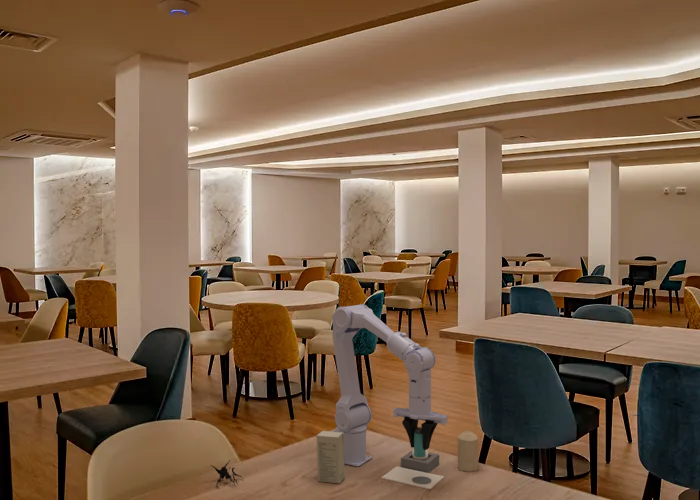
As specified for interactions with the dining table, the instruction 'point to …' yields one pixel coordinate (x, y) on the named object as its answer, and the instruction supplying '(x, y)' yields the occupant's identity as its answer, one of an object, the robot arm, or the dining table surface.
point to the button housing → (420, 462)
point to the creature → (225, 473)
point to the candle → (468, 451)
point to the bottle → (418, 443)
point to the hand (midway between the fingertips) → (420, 447)
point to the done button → (420, 457)
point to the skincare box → (330, 456)
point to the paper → (413, 477)
